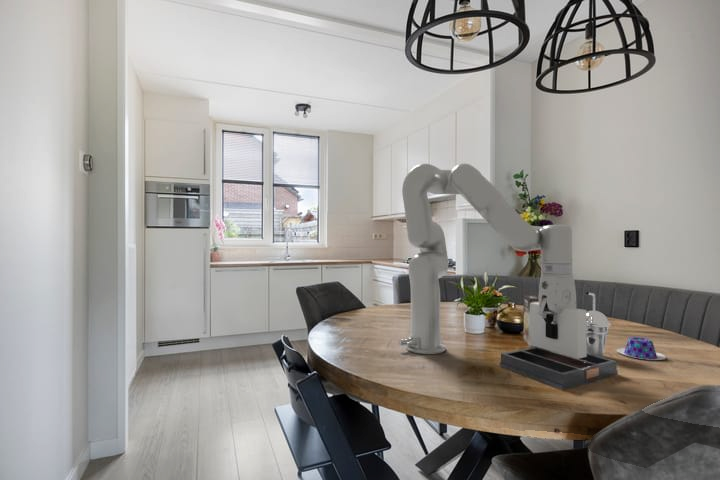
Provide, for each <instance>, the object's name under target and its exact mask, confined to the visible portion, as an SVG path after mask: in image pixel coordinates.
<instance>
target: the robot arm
mask: <svg viewBox="0 0 720 480" xmlns="http://www.w3.org/2000/svg"><path fill="white" fill-rule="evenodd" d="M401 191H402V192H401V193H402V194H401V195H402V201H403V208H404V215H405V216H404V217H405V223H406V224H405V225H406V230H407V231H406V233H407V238H408V242H409V243H410V245H411V246H413V247H414V248H417V249H419V252H418V253H417V254H415V255H413V256H412V258H411V259H410V261H409V263H408V270H407V271H408V278H409V284H410V285H409V286H410V287H409V288H410V334H408V335H407V337H406V338H400V339H398V341H397V344H398V346H399V347H401V346H405V349H407V351H408V352H412V353H414V354H420V355H438V354H442V353H444V352H445V351H446V345H445V344H443V343H441V288H440V282H439V279H441V278H443V277H444V276H445V275H446V273H448V268H449V256H448V251H447V245H446V237H445V232H444V231H443V227H442V226H441V225H440V224H439V223H437V222H435V221H433V217H432V210H431V204H430V201H429V197H428V193H430V194H434V195H461V196H462V197H463V198H464V200H466V202H468V203H469V204H470V205H471V207H473V209H475V211H476V212H477V213H478V214H479V215H480V216H481V217H482V218H483V219H484V220H485V221H486V222H487V223H488V225H490V227H492V229H493V230H494V232H496V233H497V234H498V235H499V236H500V237H501V238H502V239H503V240H504V241H505V242H506V243H507V244H508V245H509V246H510V247H512V248H513V250H516V251H519V252H531V251H539V250H540V274H541V275H540V277H539V279H540V280H539V288H538V296H539V312H538V314H539V315H540V316H542V317H543V319H544V322H545V323H546V337H548V338H552V339H558V324H556V318H557V314H558V313H562V309H563V308H577V305H578V304H577V291H576V284H575V277H574V275H573V229H572V227H571V226H570V225H567V224H547V225H543V226H537V225H531V224H530V223H529V222H528V221H527V220H526V219H525V218H524V217H522V215H521V214H519V213H518V212H517V210H516V209H514V207H512V205H511V204H510V203H509V202H508V201H507V199H506V197H505V196H504V194H503V193H502V192H501V191H500V190H499V189H498V188H496V187H495V186H494V185H493V184H492V183H491V182H490V181H489V180H488V179H487V178H486V177H485V176H484V175H482V173H481V172H480V171H479V170H478V168H475V166H473V165H472V164H470V163H469V164H468V163H460V164H457V165H456V166H454V167H453V168H452V169H440V168H439V167H437V166H436V165H433V164H429V163H419V164H417V165H415V166H414V167H413V168H411V169H410V170H408V173H407V174H406V176H405V177H404V180H403V183H402V189H401ZM549 310H550V311H552V312H550V311H549ZM549 314H552V317H551V316H550V315H549Z"/></svg>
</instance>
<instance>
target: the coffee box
mask: <svg viewBox="0 0 720 480" xmlns="http://www.w3.org/2000/svg"><path fill="white" fill-rule="evenodd" d="M535 302H539V295H523V340H524V342H526V343H527V345H528V346H529V348H532V347H536V346H533V345H530V303H535Z"/></svg>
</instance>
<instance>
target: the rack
mask: <svg viewBox="0 0 720 480" xmlns="http://www.w3.org/2000/svg"><path fill="white" fill-rule="evenodd" d="M617 365H618V363H617V360H613V359H609V358H606V357H604V356H603V357H599V356H595V355H592V354H588V353H587V357H583V358H579V359H578V358H574V357H571V356H567V355H564V354H560V353H557V352H553V351H550V350H546V349H543V348H540V347H528V348H523V349H518V350H517V349H516V350H513V351H507V352H503V353H500V362H499V367H500V368H503V369H506V370H509V371H511V372H514V373H516V374H519V375H522V376H524V377H527V378H528V379H529V378H530V379H531V380H535V381H537V382H540V383H542V384H545V385H548V386H551V387H553V388H555V389H558V390H561V391H565V390H569V389H571V388H574V387H579V386H582V385H586V384H589V383H593V382H596V381H600V380H602V379H606V378H609V377H613V376H617V375H619V371H618V369H617V368H618V367H617Z"/></svg>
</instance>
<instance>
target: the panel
mask: <svg viewBox="0 0 720 480" xmlns="http://www.w3.org/2000/svg"><path fill="white" fill-rule="evenodd" d="M549 311H550V310H549ZM538 312H539V302H535V303H530V345H533V346H536V347H540V348H543V349H546V350H550V351H553V352H557V353H560V354H564V355H567V356H571V357H574V358H578V359H579V358H583V357H587V336H586V312H587V309H583V308H582V309H581V308H577V307H576V308H563V309H562V313H558V314H557V318H556V324H558V339H552V338H548V337H546V323H545V322H544V319H543V317H542V316H540V315H539V314H538ZM550 312H552V311H550ZM549 315H550V316H551V317H552V314H549Z"/></svg>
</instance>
